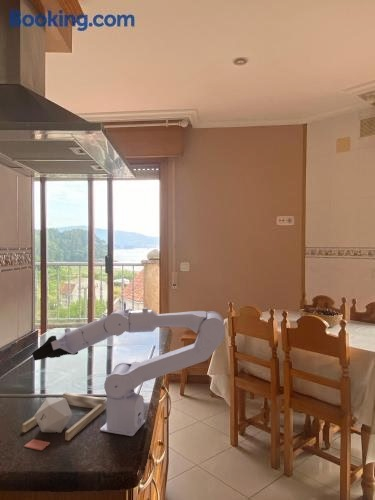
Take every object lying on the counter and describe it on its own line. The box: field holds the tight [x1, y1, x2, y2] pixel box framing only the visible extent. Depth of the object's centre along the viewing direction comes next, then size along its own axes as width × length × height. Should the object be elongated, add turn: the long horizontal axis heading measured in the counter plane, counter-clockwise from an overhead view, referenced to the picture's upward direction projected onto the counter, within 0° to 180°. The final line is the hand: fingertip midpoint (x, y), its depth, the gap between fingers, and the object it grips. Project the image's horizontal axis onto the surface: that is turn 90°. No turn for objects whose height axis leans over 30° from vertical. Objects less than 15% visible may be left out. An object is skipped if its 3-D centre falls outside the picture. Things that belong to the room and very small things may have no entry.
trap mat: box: [23, 438, 51, 451], centre depth 86 cm, size 5×3×1 cm, turn 73°
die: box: [33, 397, 73, 434], centre depth 93 cm, size 8×9×10 cm
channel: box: [21, 392, 107, 441], centre depth 98 cm, size 14×18×3 cm
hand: (41, 355), depth 96 cm, fingers open, 7 cm apart
